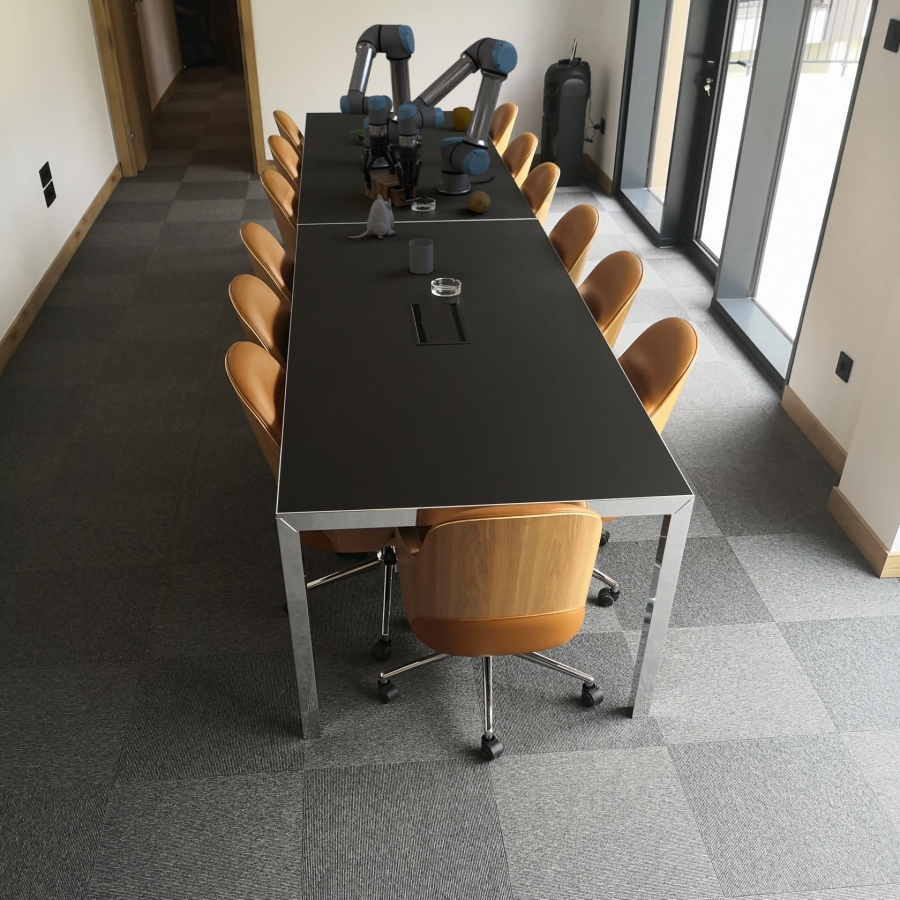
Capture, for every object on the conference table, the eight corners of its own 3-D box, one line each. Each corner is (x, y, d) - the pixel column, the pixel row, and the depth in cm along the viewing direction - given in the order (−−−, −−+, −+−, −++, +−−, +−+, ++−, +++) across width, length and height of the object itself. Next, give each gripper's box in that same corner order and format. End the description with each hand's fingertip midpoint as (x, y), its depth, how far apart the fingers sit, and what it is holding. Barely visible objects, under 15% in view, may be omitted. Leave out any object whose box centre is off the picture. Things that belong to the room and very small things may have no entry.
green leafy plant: (404, 126, 468) (348, 124, 466) (404, 141, 461) (347, 139, 459) (404, 135, 473) (349, 133, 471) (404, 150, 466) (348, 148, 463)
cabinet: (408, 201, 377) (407, 180, 373) (386, 205, 372) (385, 185, 367) (386, 191, 390) (385, 171, 385) (365, 195, 384) (364, 175, 379)
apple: (471, 132, 486) (471, 108, 479) (451, 132, 486) (451, 108, 479) (470, 128, 495) (471, 104, 488) (452, 128, 495) (452, 104, 488)
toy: (401, 233, 341) (400, 195, 333) (356, 248, 326) (354, 209, 318) (385, 228, 346) (384, 190, 338) (340, 243, 331) (337, 204, 323)
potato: (488, 206, 371) (488, 187, 367) (492, 216, 359) (492, 197, 355) (465, 206, 370) (465, 188, 366) (468, 217, 358) (468, 197, 354)
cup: (409, 265, 311) (408, 238, 306) (432, 265, 312) (431, 238, 307) (410, 274, 304) (409, 246, 299) (433, 273, 305) (433, 246, 299)
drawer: (423, 206, 368) (422, 190, 365) (403, 210, 363) (402, 194, 360) (395, 193, 383) (394, 178, 380) (375, 197, 378) (375, 182, 375)
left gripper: (358, 140, 362) (361, 192, 373) (406, 132, 373) (407, 184, 385) (349, 136, 367) (352, 188, 379) (396, 129, 378) (398, 180, 390)
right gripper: (399, 149, 349) (400, 207, 361) (426, 145, 355) (426, 202, 368) (389, 145, 354) (391, 203, 367) (416, 141, 360) (417, 198, 373)
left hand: (380, 186), depth 382 cm, fingers closed on cabinet, 11 cm apart
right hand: (408, 202), depth 367 cm, fingers closed
